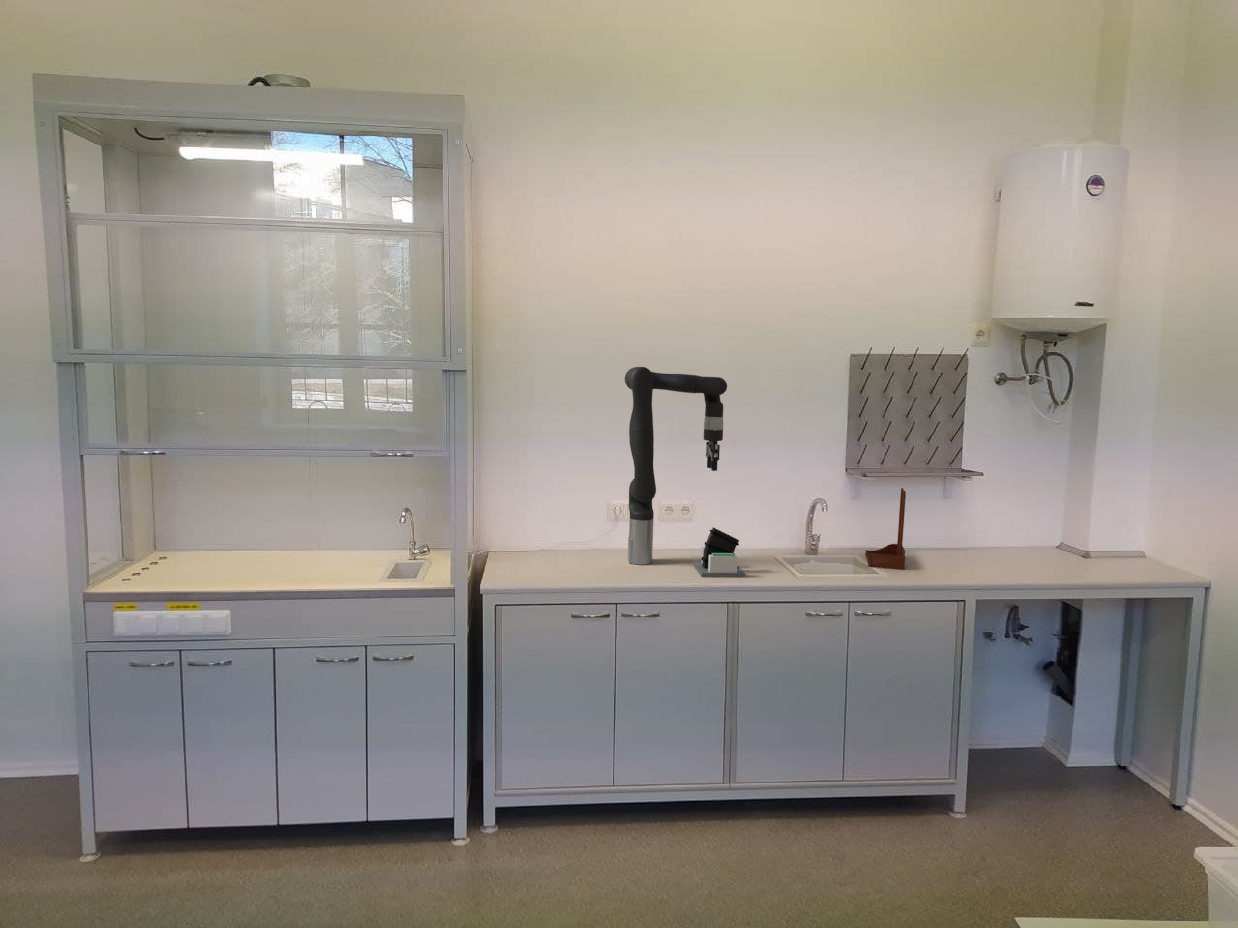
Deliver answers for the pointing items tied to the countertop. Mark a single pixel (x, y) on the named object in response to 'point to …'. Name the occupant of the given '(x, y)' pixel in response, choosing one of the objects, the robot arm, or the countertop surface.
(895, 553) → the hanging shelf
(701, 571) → the mounting plate
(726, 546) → the magazine
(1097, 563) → the countertop surface
